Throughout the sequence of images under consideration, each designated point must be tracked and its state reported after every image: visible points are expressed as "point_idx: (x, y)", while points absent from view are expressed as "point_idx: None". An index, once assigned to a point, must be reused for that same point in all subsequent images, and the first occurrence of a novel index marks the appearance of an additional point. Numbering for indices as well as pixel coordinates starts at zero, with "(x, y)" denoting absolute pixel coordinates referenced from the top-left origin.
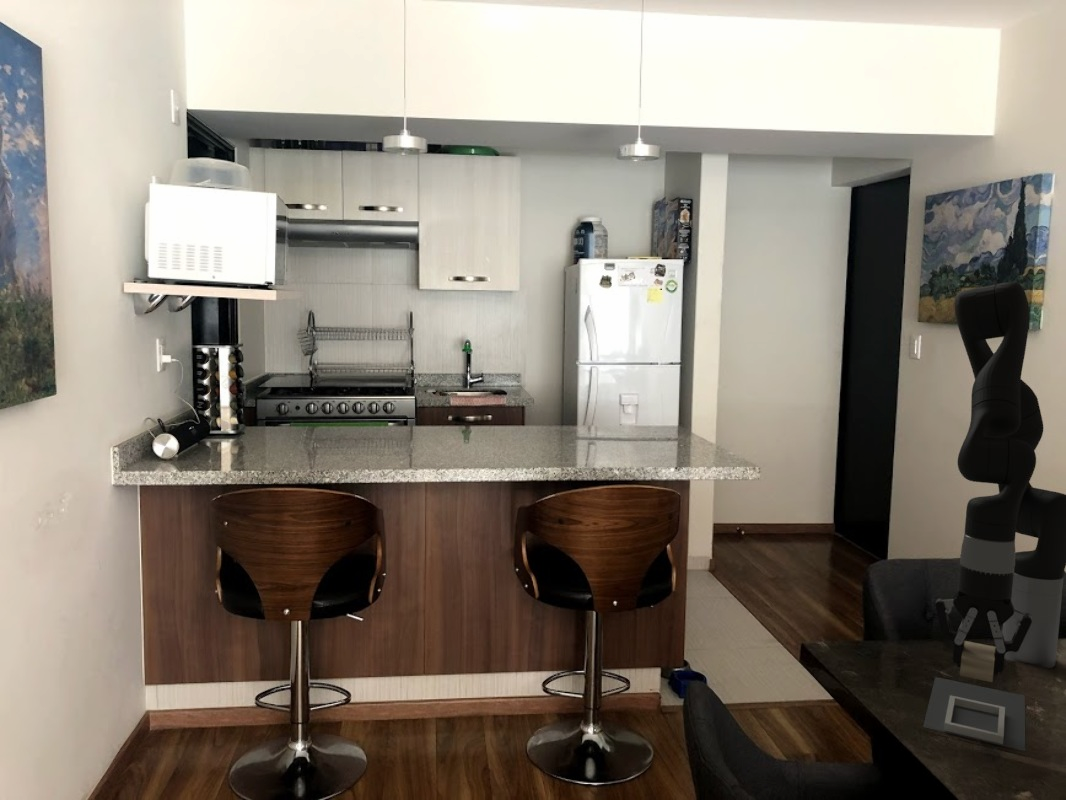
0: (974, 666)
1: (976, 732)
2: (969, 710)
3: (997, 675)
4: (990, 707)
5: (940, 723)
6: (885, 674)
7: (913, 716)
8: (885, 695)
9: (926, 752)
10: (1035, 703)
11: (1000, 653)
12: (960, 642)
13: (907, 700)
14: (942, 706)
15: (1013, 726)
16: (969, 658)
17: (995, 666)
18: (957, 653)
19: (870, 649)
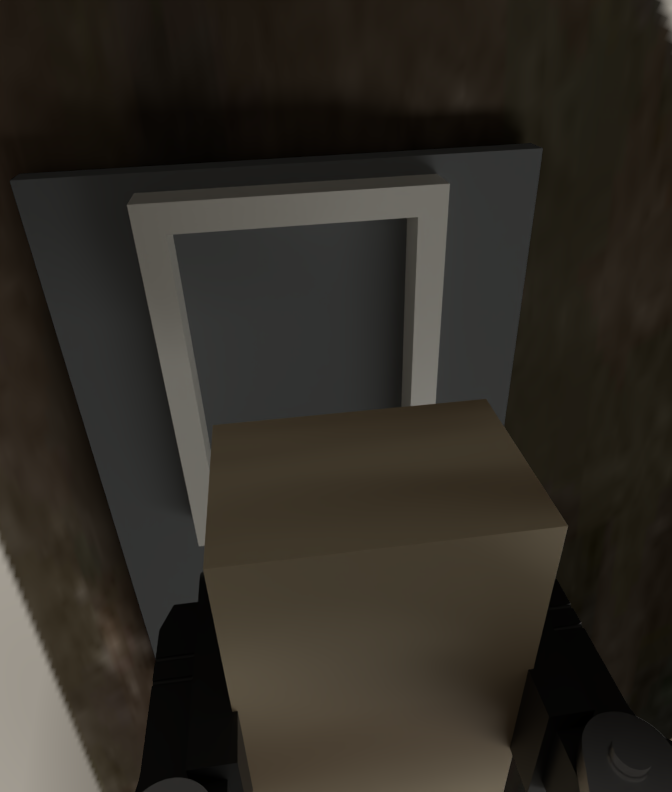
0: (399, 484)
1: (275, 191)
2: None
3: (203, 572)
4: None
5: (454, 250)
6: (630, 592)
7: (558, 310)
8: (655, 436)
9: None
10: (133, 681)
11: (181, 780)
12: (602, 749)
13: (571, 445)
14: None
15: (139, 433)
16: (481, 537)
17: None
18: (553, 635)
19: (654, 711)
